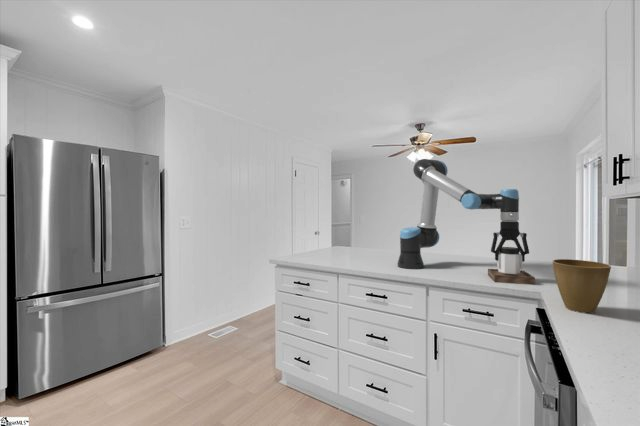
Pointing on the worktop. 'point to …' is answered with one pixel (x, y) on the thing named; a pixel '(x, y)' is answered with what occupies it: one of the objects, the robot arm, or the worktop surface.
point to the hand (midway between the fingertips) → (509, 267)
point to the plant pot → (581, 283)
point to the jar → (509, 260)
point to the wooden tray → (511, 277)
